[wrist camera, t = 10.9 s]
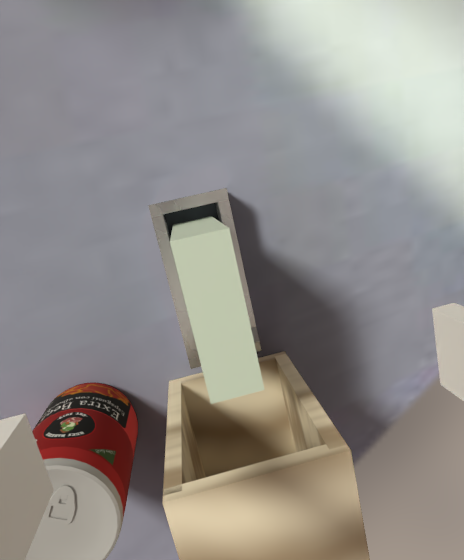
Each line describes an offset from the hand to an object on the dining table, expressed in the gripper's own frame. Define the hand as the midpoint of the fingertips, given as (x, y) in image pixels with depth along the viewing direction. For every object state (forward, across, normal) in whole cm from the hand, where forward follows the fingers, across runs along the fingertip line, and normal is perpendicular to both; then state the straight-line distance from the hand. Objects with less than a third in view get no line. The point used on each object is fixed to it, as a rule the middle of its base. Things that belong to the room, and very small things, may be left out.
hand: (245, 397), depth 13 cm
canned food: (+21, -12, -10) cm, 26 cm away
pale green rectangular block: (+21, 0, 0) cm, 21 cm away
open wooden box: (+20, 0, -13) cm, 24 cm away
